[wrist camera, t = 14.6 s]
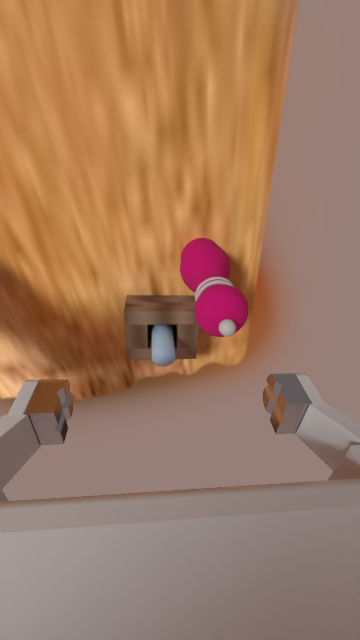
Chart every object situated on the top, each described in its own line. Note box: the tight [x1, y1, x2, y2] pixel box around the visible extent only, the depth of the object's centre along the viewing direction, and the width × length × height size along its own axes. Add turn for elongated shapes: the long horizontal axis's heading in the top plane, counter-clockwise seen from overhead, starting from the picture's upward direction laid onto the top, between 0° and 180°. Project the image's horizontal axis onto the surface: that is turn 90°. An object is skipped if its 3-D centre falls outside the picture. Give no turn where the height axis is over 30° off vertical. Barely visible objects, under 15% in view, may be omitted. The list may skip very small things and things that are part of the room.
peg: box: [152, 324, 175, 366], centre depth 47 cm, size 4×4×10 cm
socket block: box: [124, 295, 200, 360], centre depth 49 cm, size 12×10×5 cm
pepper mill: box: [180, 238, 248, 337], centre depth 37 cm, size 7×7×20 cm
